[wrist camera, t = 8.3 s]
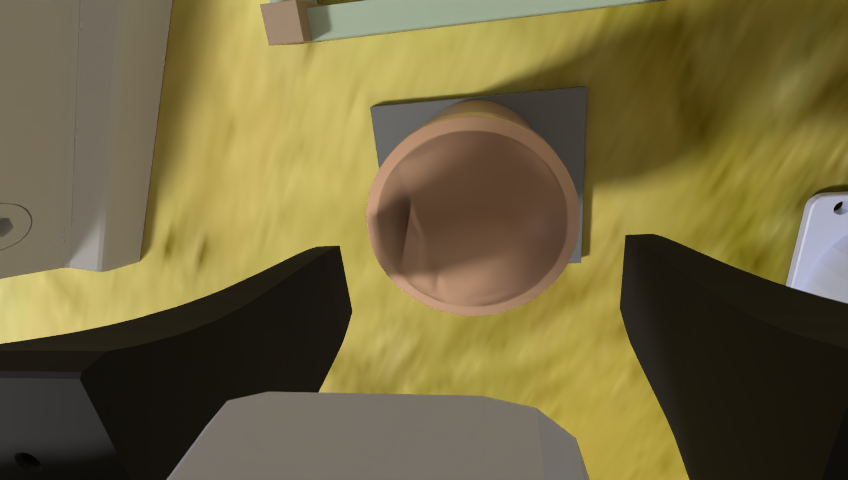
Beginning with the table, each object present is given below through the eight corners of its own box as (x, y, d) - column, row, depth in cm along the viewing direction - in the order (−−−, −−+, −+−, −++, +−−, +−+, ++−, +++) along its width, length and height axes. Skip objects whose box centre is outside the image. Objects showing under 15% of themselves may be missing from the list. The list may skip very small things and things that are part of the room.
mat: (585, 86, 17) (587, 87, 16) (579, 258, 19) (580, 262, 19) (372, 105, 18) (370, 107, 17) (395, 264, 21) (393, 268, 20)
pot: (551, 84, 16) (585, 109, 11) (549, 233, 19) (575, 314, 13) (394, 98, 17) (351, 126, 12) (410, 238, 19) (380, 316, 14)
